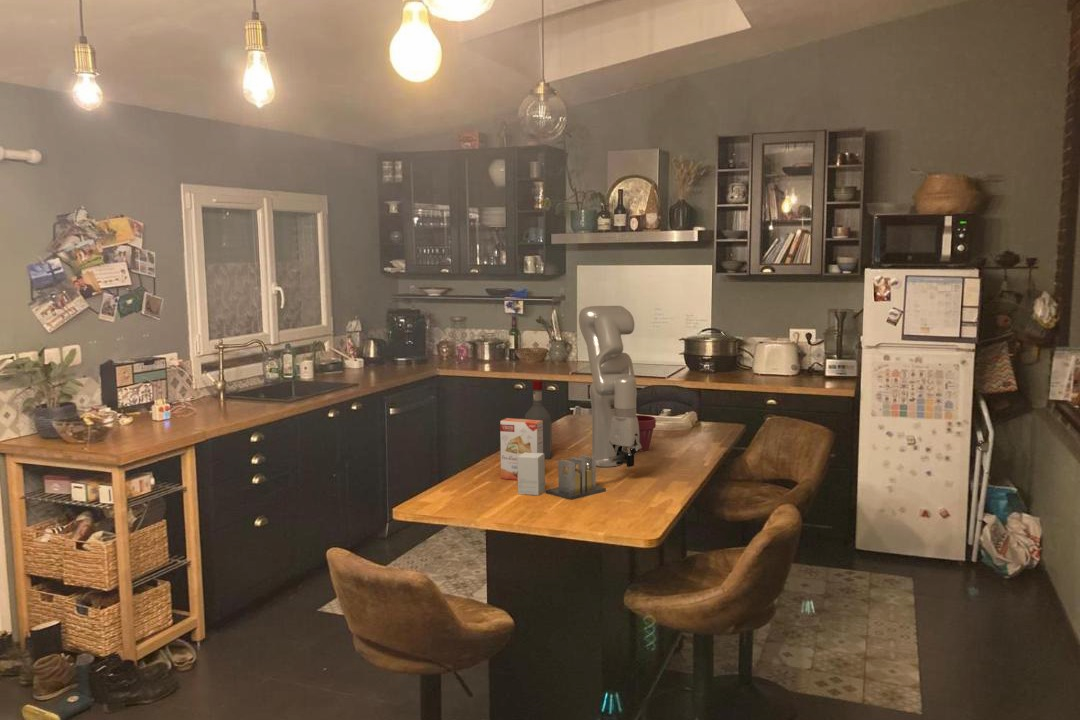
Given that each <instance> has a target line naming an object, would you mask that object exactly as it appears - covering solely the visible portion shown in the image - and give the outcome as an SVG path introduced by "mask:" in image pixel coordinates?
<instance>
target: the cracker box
mask: <svg viewBox="0 0 1080 720" xmlns="http://www.w3.org/2000/svg"><path fill="white" fill-rule="evenodd" d="M499 425H500V429H499V431H500V432H499V433H500V435H499V436H500V480H501V479H504V480H514V481H518V470H517V457H518V456H519V455H521V454H523V453H524V452H527V453H543V421H542V420H527V419H524V418H512V417H511V418H510V417H505V418H504V419H501V420H500V424H499Z"/></svg>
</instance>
